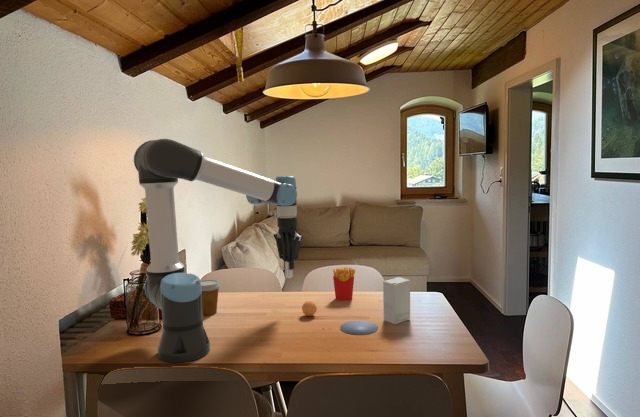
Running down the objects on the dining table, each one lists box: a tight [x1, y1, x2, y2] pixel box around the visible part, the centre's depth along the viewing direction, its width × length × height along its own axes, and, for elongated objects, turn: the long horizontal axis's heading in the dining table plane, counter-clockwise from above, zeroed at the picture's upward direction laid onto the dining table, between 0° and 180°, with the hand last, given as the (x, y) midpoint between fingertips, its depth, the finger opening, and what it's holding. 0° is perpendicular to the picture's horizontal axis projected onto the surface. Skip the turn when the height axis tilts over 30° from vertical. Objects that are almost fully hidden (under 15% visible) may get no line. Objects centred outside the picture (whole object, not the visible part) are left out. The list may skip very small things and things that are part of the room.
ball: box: [301, 300, 318, 317], centre depth 171 cm, size 6×6×6 cm
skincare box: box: [382, 276, 411, 325], centre depth 164 cm, size 8×6×15 cm
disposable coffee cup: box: [200, 279, 221, 317], centre depth 176 cm, size 10×10×12 cm
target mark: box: [339, 320, 379, 336], centre depth 158 cm, size 13×13×1 cm
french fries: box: [332, 266, 356, 301], centre depth 191 cm, size 9×4×13 cm, turn 89°
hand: (289, 277), depth 176 cm, fingers closed
